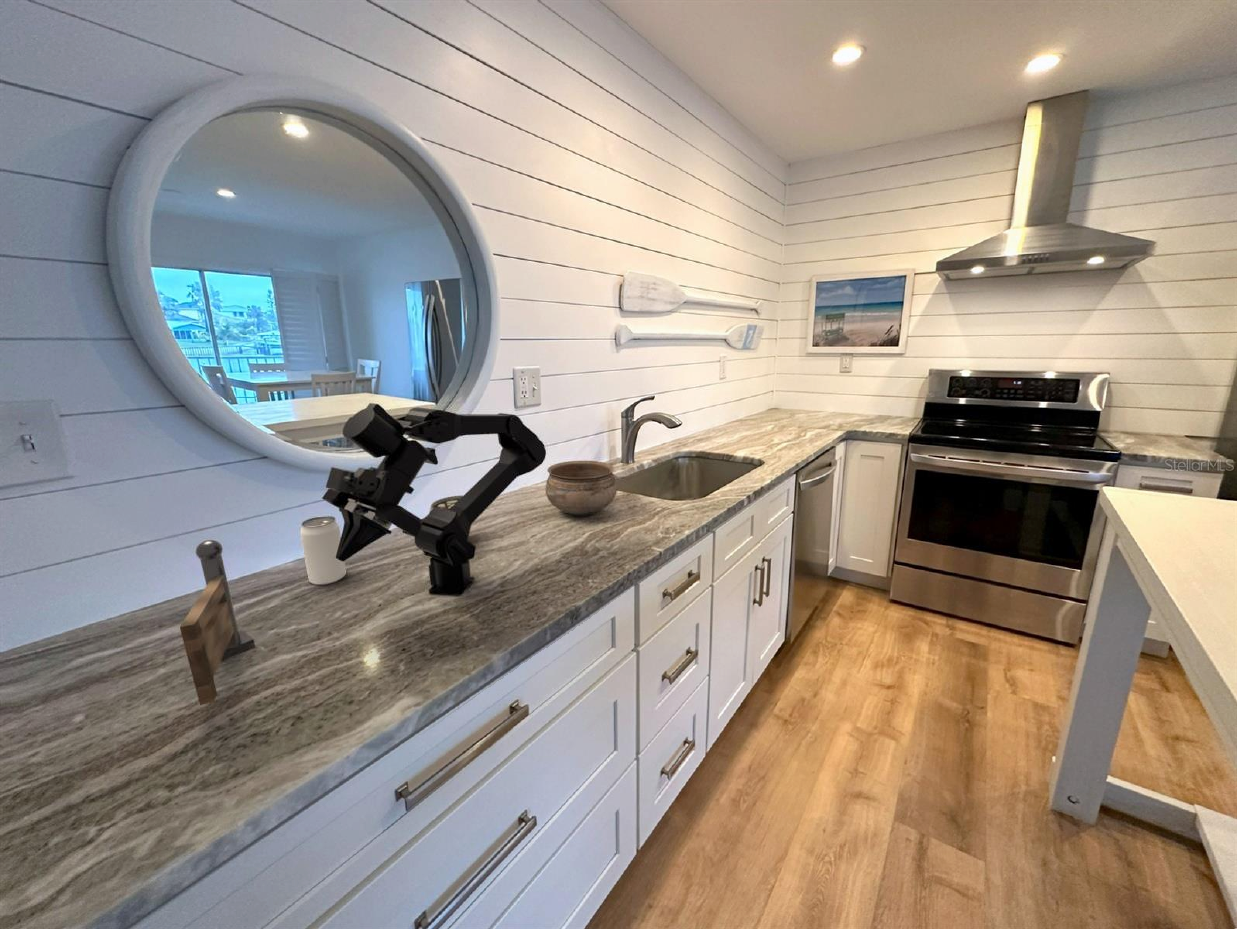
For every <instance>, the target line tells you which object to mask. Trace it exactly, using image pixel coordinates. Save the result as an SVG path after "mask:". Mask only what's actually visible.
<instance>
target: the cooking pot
mask: <svg viewBox="0 0 1237 929" xmlns="http://www.w3.org/2000/svg"><path fill="white" fill-rule="evenodd" d="M614 471H615V467H614V466H613V465H612V464H611V463H607V462H602V461H598V460H569V461H564V462H558V463H555V464H551V465H550V466H549V467H547V472H548V474H549V475H548V477H547V479H546V484H545V495H546V497H547V500H548V501H549V503H550V504H552V505H553V507H555V508H556V509H558V510H561V511H562V512H564V513H567V514H568V515H570V516H573V517H577V518H578V517H580V518H585V517H589V516H592V515H594V514H596V513H598V512H600V511H602V510H604V509H605V508H607V507H608V506H609V505H610V504H612V502H613V501H614V499H615V497H616V494H617V491H618V490H617V489H618V485H617V482H616V478H615V475H614V473H613V472H614Z"/></svg>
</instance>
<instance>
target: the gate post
mask: <svg viewBox="0 0 1237 929" xmlns="http://www.w3.org/2000/svg"><path fill="white" fill-rule="evenodd" d="M223 550H224V549H223V546H222V544H221V542H219V541H217V540H213V539H209V540H208V539H207V540H204V541H202V542H201V543H199V544H198V545H197V546H196V549H195V555H196V557H197V558H198V559H199V560H200V564H201V568H202V573H203V576H204V580H205V585H206V586H207V584H208V583H209V581H210V580H211V578H212V577H214V576H220V575H225V580H226V584H227V588H228V593H229V597H230V602H231V606H232V610H233V615H234V619H235V624H236V628H237V633H238V637H239V644H238V646H237V647H234V648H230V649H226V650H225V652H224V655H223V657H222V659H221V661H220V662H222V661H224V660H226V659H228V658H232V657H233V656H236V655H238V654H239V653H242V652H244V651H247V650H249V649H252V648H254V647H255V646H256V645H255V640H254V638H253V637H251V636H250V635H248V633H246V632H245V631H243V630H241V629H240V630H239V626H238V622H237V618H236V613H235V608H234V605H233V604H234V603H233V601H232V595H231V592H230V586H229V582H228V577H227V573H226V568H225V565H224V560H223V556H222V554H223ZM206 586H205V587H206Z"/></svg>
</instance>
